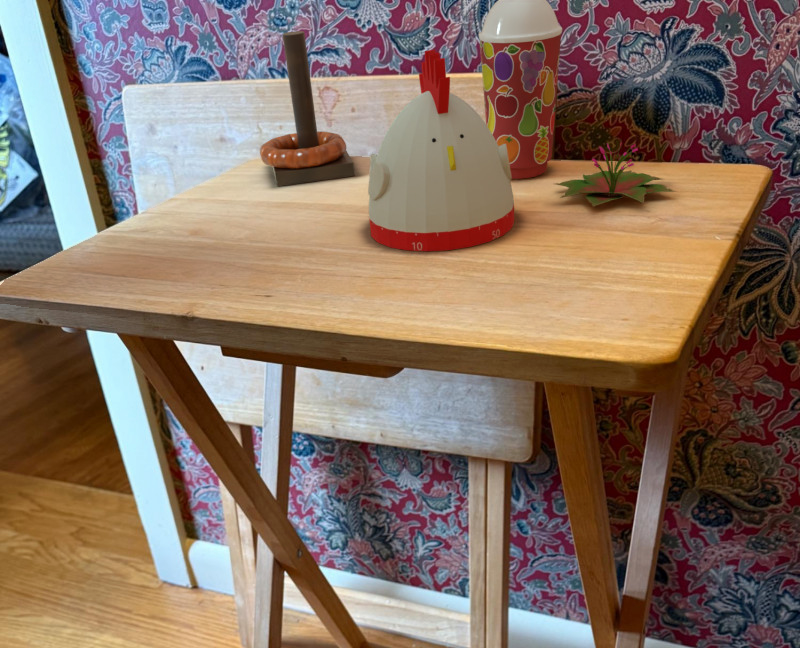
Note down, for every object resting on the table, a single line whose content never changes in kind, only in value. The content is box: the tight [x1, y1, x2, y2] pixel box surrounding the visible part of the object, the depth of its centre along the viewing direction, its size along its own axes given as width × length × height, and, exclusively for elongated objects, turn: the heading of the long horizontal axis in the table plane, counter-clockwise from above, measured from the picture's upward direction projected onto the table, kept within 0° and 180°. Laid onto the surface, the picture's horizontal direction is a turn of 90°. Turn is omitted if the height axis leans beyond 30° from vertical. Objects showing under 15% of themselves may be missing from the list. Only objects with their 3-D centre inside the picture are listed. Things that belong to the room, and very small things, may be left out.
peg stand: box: [271, 30, 356, 187], centre depth 101 cm, size 9×9×14 cm
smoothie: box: [477, 0, 563, 180], centre depth 92 cm, size 8×8×20 cm
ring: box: [259, 131, 347, 169], centre depth 104 cm, size 10×10×2 cm
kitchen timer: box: [367, 49, 515, 252], centre depth 81 cm, size 14×14×15 cm
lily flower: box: [554, 141, 678, 207], centre depth 88 cm, size 12×12×5 cm
